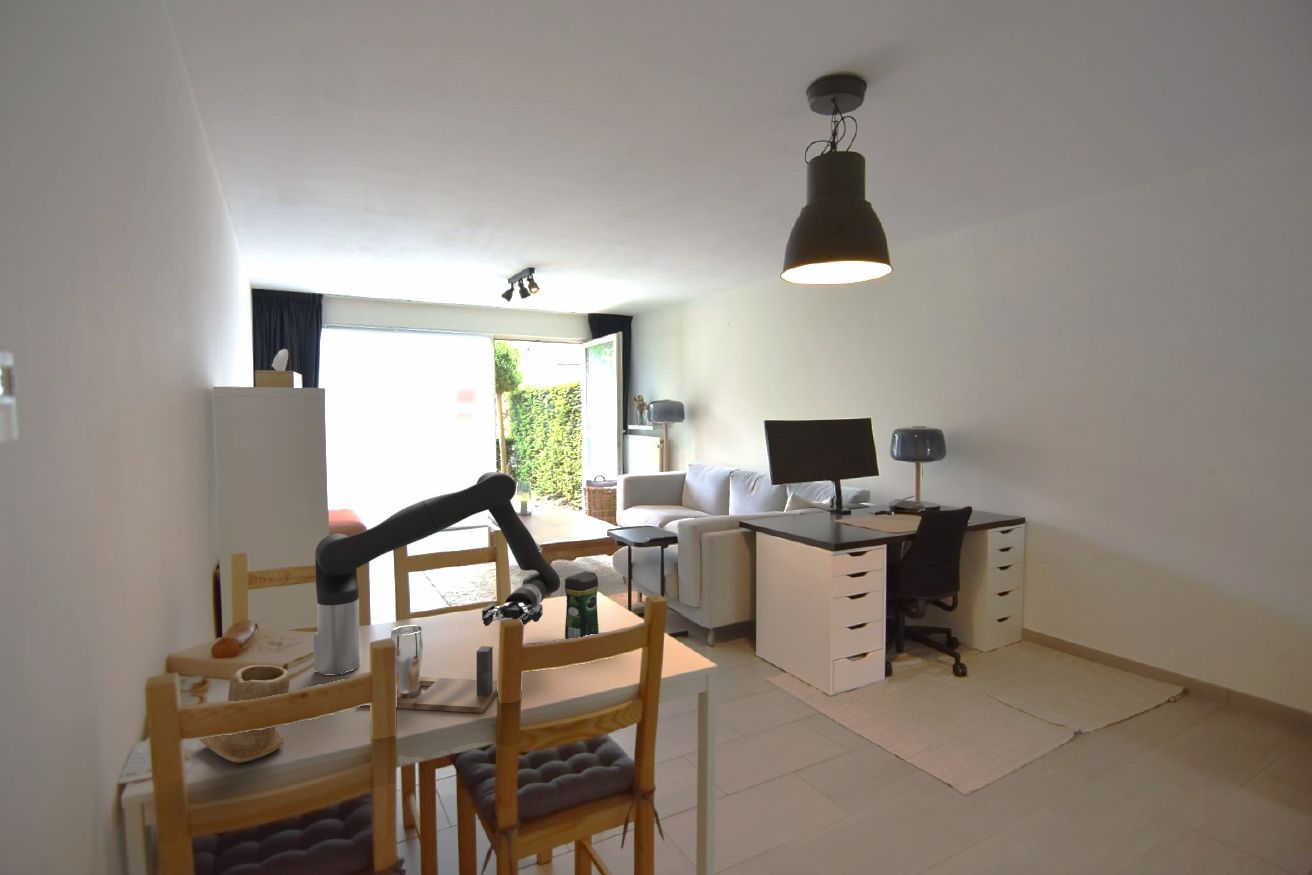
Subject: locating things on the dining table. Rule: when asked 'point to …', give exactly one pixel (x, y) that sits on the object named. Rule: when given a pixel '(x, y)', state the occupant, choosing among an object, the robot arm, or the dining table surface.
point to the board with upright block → (458, 689)
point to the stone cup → (246, 687)
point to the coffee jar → (581, 605)
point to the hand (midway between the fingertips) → (503, 622)
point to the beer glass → (408, 660)
